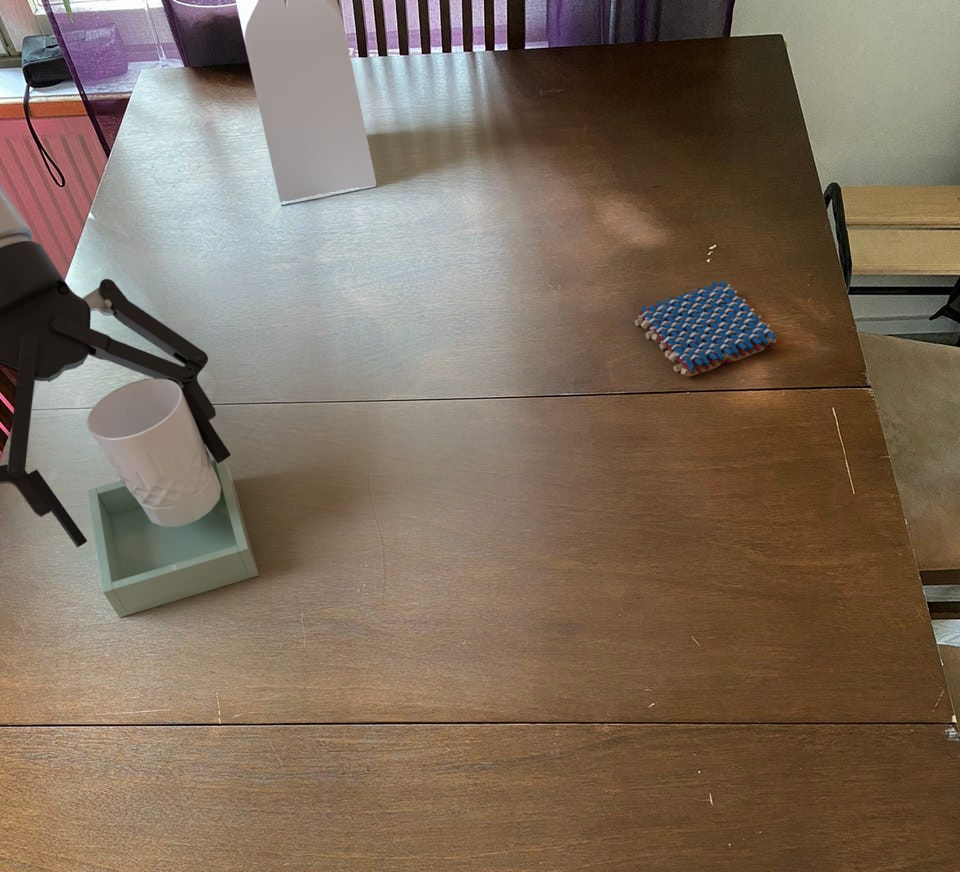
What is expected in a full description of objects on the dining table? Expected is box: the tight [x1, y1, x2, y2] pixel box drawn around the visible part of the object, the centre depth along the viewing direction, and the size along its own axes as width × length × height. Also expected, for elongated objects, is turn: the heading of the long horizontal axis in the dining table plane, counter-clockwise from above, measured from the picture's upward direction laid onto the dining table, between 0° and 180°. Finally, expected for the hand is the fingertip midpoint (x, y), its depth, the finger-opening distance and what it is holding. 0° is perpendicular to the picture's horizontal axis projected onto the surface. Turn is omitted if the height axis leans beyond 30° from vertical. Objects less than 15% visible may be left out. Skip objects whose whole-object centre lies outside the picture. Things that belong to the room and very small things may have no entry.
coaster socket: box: [87, 454, 260, 618], centre depth 87 cm, size 12×12×4 cm
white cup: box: [86, 377, 221, 527], centre depth 83 cm, size 8×8×10 cm
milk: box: [235, 0, 377, 203], centre depth 110 cm, size 12×12×26 cm
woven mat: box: [634, 281, 777, 378], centre depth 98 cm, size 10×11×2 cm
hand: (155, 501), depth 82 cm, fingers open, 13 cm apart
